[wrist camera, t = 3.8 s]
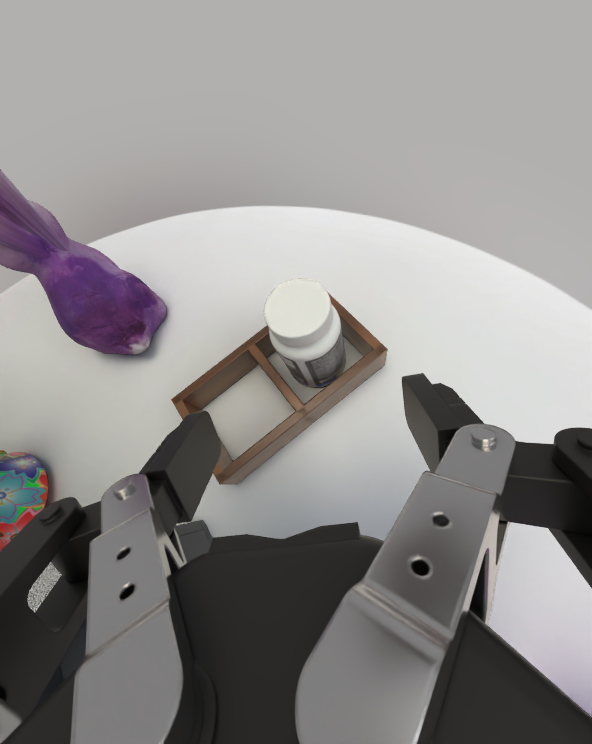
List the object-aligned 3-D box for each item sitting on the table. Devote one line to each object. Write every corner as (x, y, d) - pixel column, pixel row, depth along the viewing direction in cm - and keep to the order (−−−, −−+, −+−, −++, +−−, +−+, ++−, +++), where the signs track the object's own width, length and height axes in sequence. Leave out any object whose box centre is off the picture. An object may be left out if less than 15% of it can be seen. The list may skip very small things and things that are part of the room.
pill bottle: (346, 335, 25) (339, 269, 17) (345, 389, 23) (336, 342, 16) (291, 336, 26) (261, 274, 18) (286, 388, 24) (252, 344, 17)
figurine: (98, 284, 34) (-85, 144, 20) (179, 278, 31) (35, 116, 18) (69, 361, 30) (-173, 259, 17) (157, 361, 28) (-39, 243, 14)
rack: (191, 408, 26) (170, 399, 23) (323, 305, 27) (319, 284, 24) (236, 484, 23) (219, 484, 20) (384, 365, 24) (387, 349, 21)
